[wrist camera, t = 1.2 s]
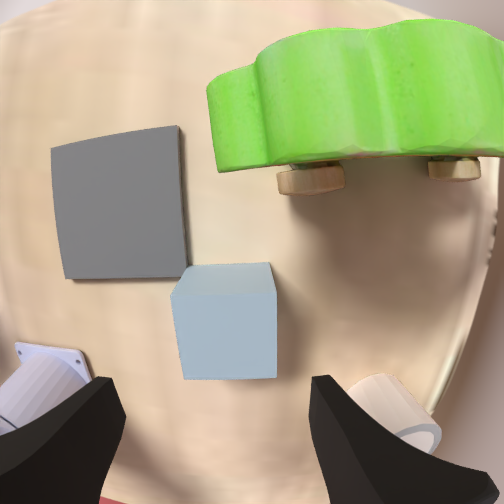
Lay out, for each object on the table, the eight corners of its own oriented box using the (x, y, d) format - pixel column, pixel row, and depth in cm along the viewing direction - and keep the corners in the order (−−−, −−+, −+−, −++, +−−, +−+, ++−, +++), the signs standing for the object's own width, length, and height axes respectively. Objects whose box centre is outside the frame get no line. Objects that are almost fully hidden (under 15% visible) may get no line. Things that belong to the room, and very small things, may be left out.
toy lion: (449, 106, 16) (627, 81, 2) (458, 180, 18) (642, 217, 3) (223, 112, 16) (148, -79, 2) (236, 201, 18) (195, 334, 3)
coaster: (188, 273, 19) (187, 276, 18) (69, 276, 19) (65, 279, 18) (178, 126, 17) (176, 125, 16) (55, 148, 16) (50, 148, 16)
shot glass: (322, 426, 23) (339, 488, 16) (348, 365, 21) (379, 429, 14) (388, 424, 23) (414, 476, 16) (418, 366, 21) (458, 418, 15)
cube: (270, 332, 20) (276, 377, 15) (196, 335, 20) (184, 379, 15) (268, 261, 19) (276, 292, 14) (188, 265, 19) (170, 295, 14)
